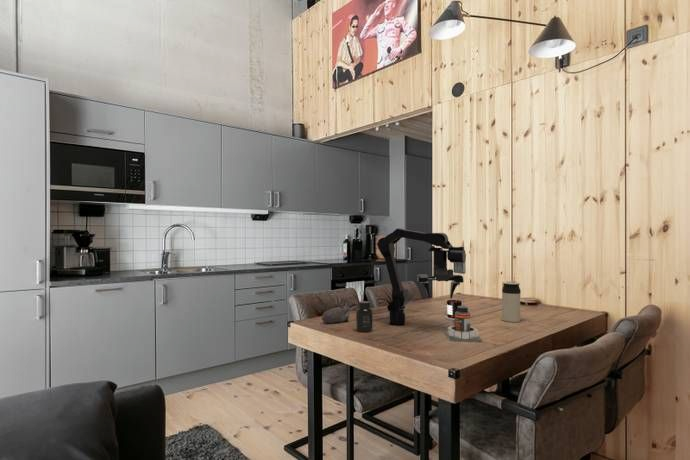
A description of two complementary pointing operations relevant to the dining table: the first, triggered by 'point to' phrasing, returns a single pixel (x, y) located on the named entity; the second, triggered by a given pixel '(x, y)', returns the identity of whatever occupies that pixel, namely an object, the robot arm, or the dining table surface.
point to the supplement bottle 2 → (462, 319)
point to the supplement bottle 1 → (364, 317)
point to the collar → (463, 335)
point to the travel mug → (511, 301)
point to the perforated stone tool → (336, 315)
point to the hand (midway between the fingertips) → (439, 298)
